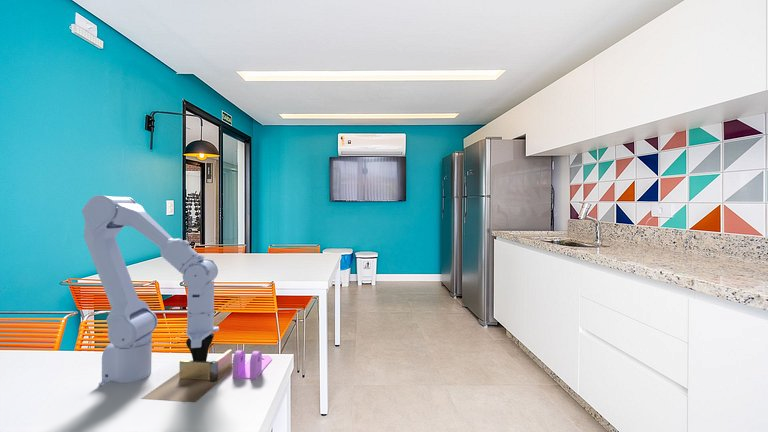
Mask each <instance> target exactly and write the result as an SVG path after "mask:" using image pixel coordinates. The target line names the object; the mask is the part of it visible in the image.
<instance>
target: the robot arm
mask: <svg viewBox="0 0 768 432" xmlns="http://www.w3.org/2000/svg"><path fill="white" fill-rule="evenodd" d="M81 213H82V216H83V218H84V232H83V238H84V241H85V244H86V247H87V249H88V252H89V254H90V256H91V259H92V262H93V265H94V267H95V269H96V271H97V275H98V277H99V280H100V283H101V285H102V287H103V291H104V293H105V295H106V298H107V300H108V303H109V306H110V308H111V309H110V310H109V312H108V315H107V317H106V320H105V321H106V324H107V338H108V341H109V342H110V343H109V344H108V345H106V347H105V348H104V349H103V352H102V356H101V381H100V382H99V383H98V386H104V385H105V384H107V383H109V382H111V381H113V382H117V383H120V384H121V383H124V384H125V383H133V382H138V381H140V380H143V379H145V378H146V379H147V377H149V376H150V375H151V374H152V358H153V357H152V345H153V344H152V342H153V341H152V340H153V339H152V337H153V332H154V331H155V329H156V328H157V326H158V324H159V323H158V317H157V315H156V313H155V312H153V311H152V309H150V307H149V304H148V303H147V302H145V301H144V300H142V299H140V298H139V296H138V293H137V291H136V288H135V286H134V283H133V280H132V278H131V276H130V273H129V270H128V268H127V266H126V262H125V259H124V257H123V254H122V253H121V249H120V247H119V244H118V242H117V239H116V237H117V236H118V234H120V232H121V230H122V229H123V228H125V227H131V228H134V229H135V230H136V231H138V232H139V233H140V234H141V235H143V237H146V239H148V240H150V241H151V242H152V243H153V244H154V245H156V246H157V247H159V249H160V256H161V258H163V259H164V260H165V261H166V262H168V264H169V265H171V266H172V267H174V269H176V270H177V271H178V272H179V273H180V274H182V280H183V282H184V284H185V285H186V287H187V308H186V309H187V310H186V311H187V312H186V313H187V314H186V315H187V317H186V320H187V322H186V327H187V328H186V331H185V333H186V336H187V337H188V338H187V339H186V341H185V345H186V347H187V348H188V349H189V351H190V353H191V358H192V360H193V361H207V359H208V354H209V349H210V346H211V345H212V342H213V340H214V337H215V334H214V332H215V333H217V332H218V331H220V326H214V325H215V324H214V323H215V321H214V319H215V314H214V313H215V312H214V311H215V281H214V280H215V279H216V278H217V276H218V274H219V273H218V272H219V269H218V266H217V264H216V262H214V260H212V259H210V258H205V256H204V255H203V254H199V253H198V252H197V251H196V250H195V249H194V248H192V247H191V246H190V241H188V240H187V239H184V240H183V239H182V238H178V237H177V238H173V237H172V235H170V234H169V233H168V232H167V231H166V230H165V229H164V228H163V227H162V225H160V224H159V223H158V222H156V220H155V219H154V218H153V217H151V215H150V214H149V213H148V212H147V211H146V210H145V209H144V207H143V206H142V205H141V204H139V203H137V202H136V200H134V199H133V198H132V197H129V196H125V195H124V196H111V195H110V196H109V195H108V196H107V195H104V194H103V195H102V194H99V195H95V196H92V197H91V198H90V199H89V200H87V202H86V203H85V205H84V206H83V208H82V210H81Z"/></svg>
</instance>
